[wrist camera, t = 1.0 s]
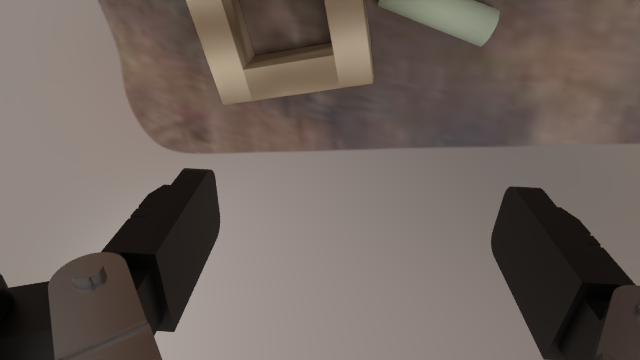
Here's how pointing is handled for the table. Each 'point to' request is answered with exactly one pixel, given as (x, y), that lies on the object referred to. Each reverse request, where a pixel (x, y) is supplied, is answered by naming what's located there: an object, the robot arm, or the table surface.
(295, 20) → the table surface
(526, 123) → the table surface
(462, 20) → the lying dowel
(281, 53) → the socket block
